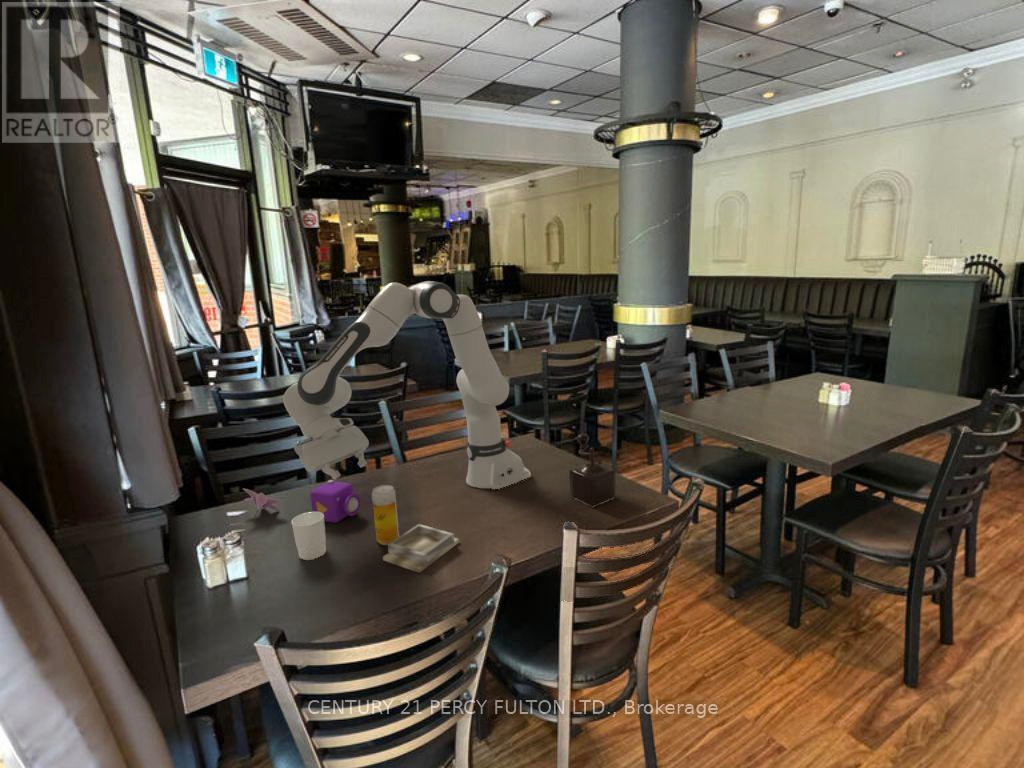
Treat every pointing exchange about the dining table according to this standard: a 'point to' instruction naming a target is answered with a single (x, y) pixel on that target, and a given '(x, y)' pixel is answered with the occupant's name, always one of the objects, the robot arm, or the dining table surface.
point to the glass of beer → (385, 514)
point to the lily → (262, 500)
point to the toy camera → (335, 501)
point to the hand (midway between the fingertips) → (351, 471)
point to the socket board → (419, 547)
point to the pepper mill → (591, 478)
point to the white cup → (309, 535)
